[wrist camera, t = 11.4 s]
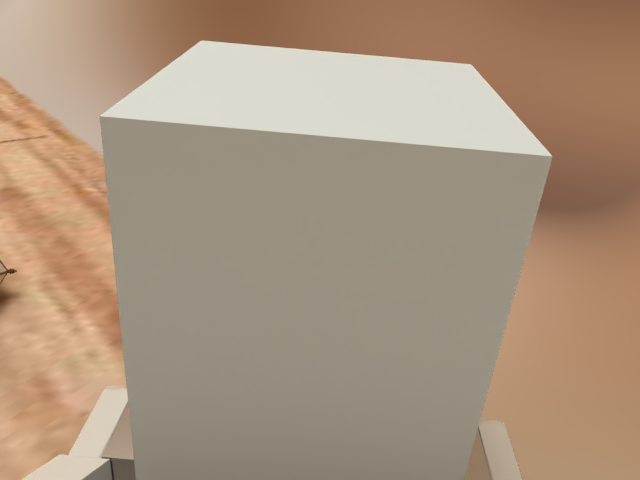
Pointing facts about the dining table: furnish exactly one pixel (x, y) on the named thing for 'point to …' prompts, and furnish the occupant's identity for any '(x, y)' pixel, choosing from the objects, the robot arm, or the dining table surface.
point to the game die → (4, 271)
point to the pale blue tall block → (314, 261)
